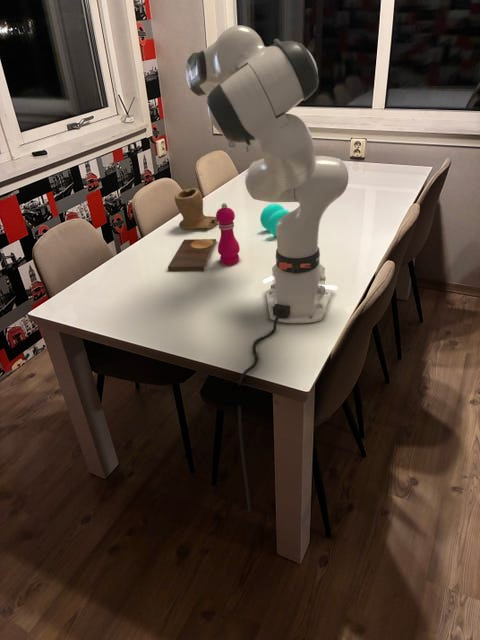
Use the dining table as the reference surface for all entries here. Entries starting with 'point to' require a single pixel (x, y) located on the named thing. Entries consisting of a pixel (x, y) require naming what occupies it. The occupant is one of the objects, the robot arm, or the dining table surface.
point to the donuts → (272, 217)
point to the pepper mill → (227, 236)
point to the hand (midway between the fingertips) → (240, 149)
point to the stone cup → (193, 210)
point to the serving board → (192, 255)
